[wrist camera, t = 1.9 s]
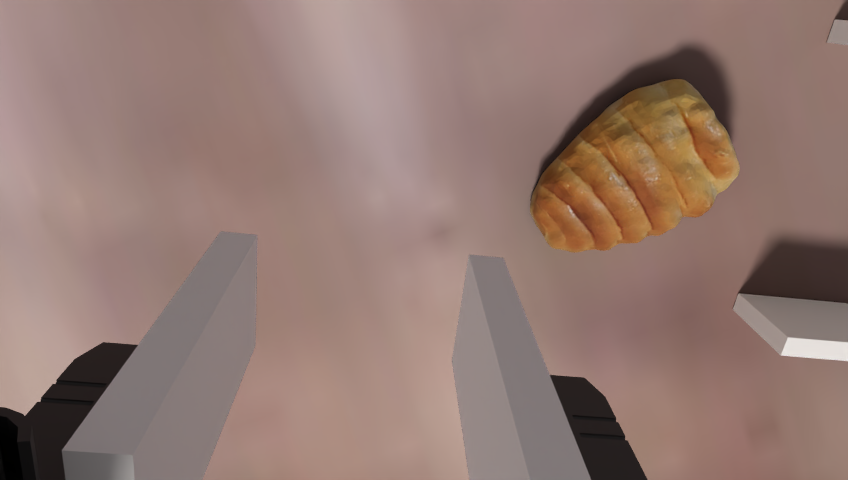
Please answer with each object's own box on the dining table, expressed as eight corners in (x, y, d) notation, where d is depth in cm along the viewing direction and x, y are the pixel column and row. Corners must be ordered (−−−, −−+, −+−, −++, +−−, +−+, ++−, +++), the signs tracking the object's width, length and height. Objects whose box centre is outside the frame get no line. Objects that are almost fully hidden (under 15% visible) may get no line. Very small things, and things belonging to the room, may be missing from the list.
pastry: (567, 270, 32) (587, 304, 29) (499, 169, 30) (512, 193, 27) (729, 171, 30) (772, 194, 27) (669, 56, 28) (708, 65, 25)
